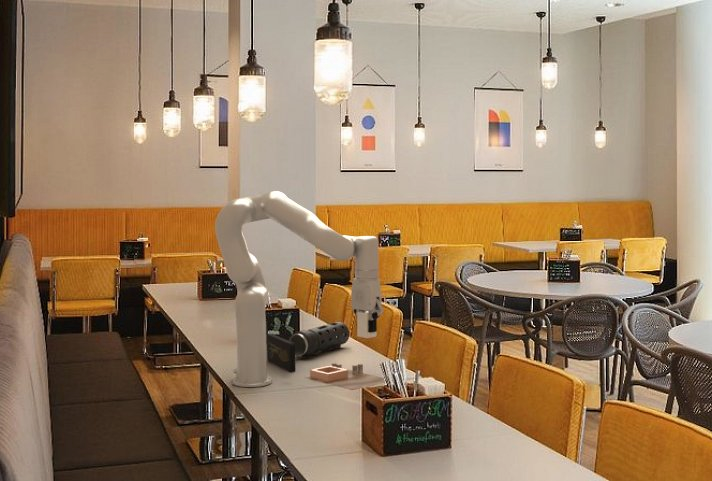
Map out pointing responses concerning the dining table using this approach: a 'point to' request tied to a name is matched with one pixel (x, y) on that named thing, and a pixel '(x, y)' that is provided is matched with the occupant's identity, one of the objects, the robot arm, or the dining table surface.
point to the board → (353, 378)
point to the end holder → (329, 373)
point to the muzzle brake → (320, 339)
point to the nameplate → (281, 352)
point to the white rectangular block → (364, 325)
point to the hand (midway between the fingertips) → (366, 330)
